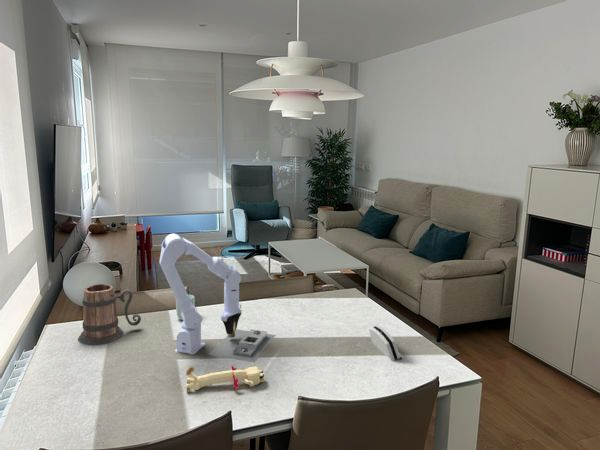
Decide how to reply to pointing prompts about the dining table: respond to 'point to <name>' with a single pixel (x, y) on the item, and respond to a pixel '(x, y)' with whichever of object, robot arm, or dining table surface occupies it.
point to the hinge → (384, 342)
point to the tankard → (103, 315)
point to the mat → (232, 343)
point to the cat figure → (225, 377)
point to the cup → (180, 309)
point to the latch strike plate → (250, 343)
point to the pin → (232, 333)
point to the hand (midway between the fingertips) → (231, 331)
